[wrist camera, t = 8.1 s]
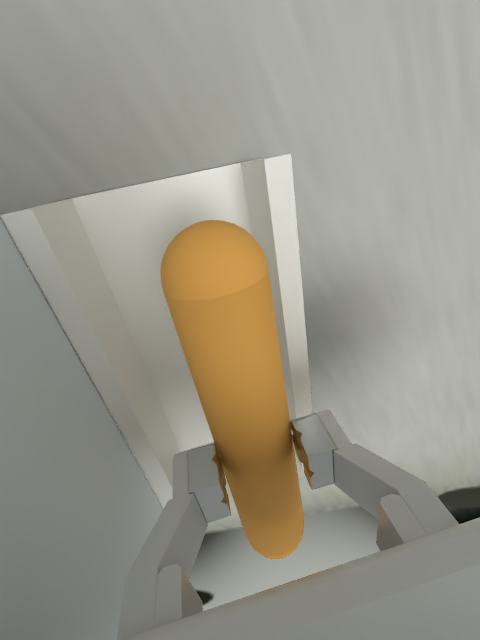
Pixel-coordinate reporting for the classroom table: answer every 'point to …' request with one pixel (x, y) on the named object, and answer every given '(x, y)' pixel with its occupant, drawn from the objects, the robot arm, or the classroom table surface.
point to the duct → (160, 294)
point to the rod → (238, 373)
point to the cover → (59, 479)
